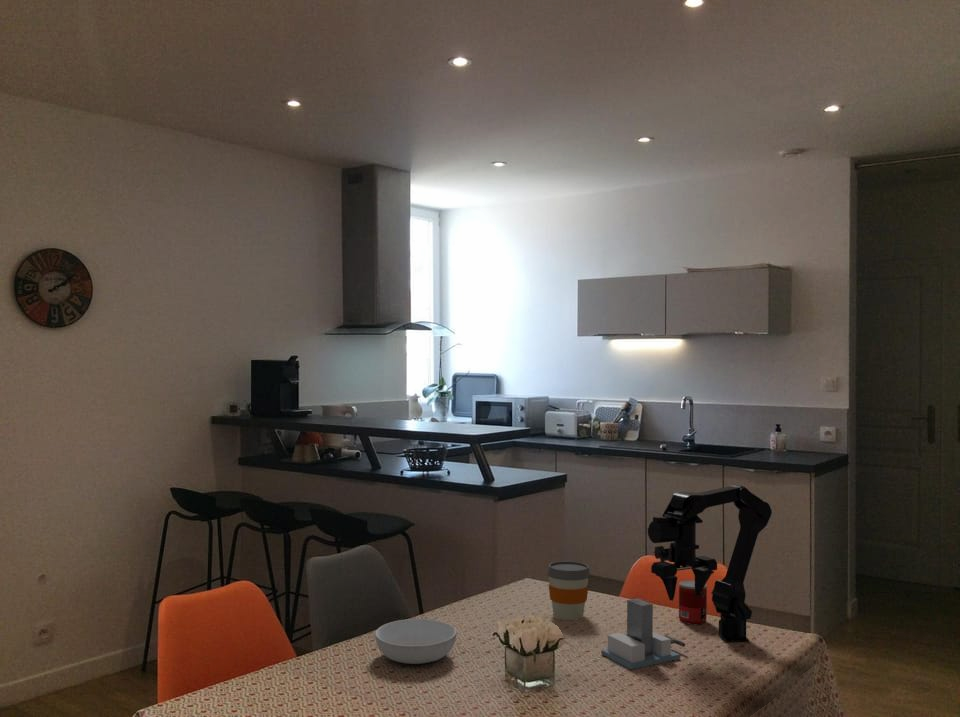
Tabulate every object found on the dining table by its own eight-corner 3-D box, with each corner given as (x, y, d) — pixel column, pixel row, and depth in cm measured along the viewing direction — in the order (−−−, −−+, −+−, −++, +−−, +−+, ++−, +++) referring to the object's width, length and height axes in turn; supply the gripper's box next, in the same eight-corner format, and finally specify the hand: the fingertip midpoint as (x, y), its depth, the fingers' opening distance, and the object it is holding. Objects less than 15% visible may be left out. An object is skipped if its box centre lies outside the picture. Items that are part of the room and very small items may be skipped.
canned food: (707, 625, 240) (707, 587, 240) (679, 623, 241) (679, 586, 241) (705, 618, 247) (705, 581, 247) (678, 616, 249) (678, 579, 249)
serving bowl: (358, 658, 211) (358, 631, 211) (418, 638, 226) (418, 613, 226) (413, 679, 197) (413, 650, 197) (473, 657, 212) (473, 630, 212)
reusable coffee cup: (548, 608, 255) (548, 560, 255) (589, 610, 254) (589, 561, 254) (546, 621, 243) (546, 570, 243) (589, 623, 241) (589, 571, 241)
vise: (661, 642, 224) (661, 623, 224) (691, 656, 214) (691, 636, 214) (601, 654, 215) (601, 634, 215) (630, 669, 204) (630, 648, 204)
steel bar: (637, 647, 217) (637, 598, 217) (652, 654, 211) (652, 604, 212) (626, 649, 215) (627, 599, 215) (641, 657, 210) (642, 605, 210)
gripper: (690, 531, 233) (689, 586, 233) (638, 537, 224) (637, 595, 224) (718, 539, 223) (718, 596, 223) (665, 545, 215) (665, 605, 214)
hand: (684, 598), depth 222 cm, fingers open, 9 cm apart
